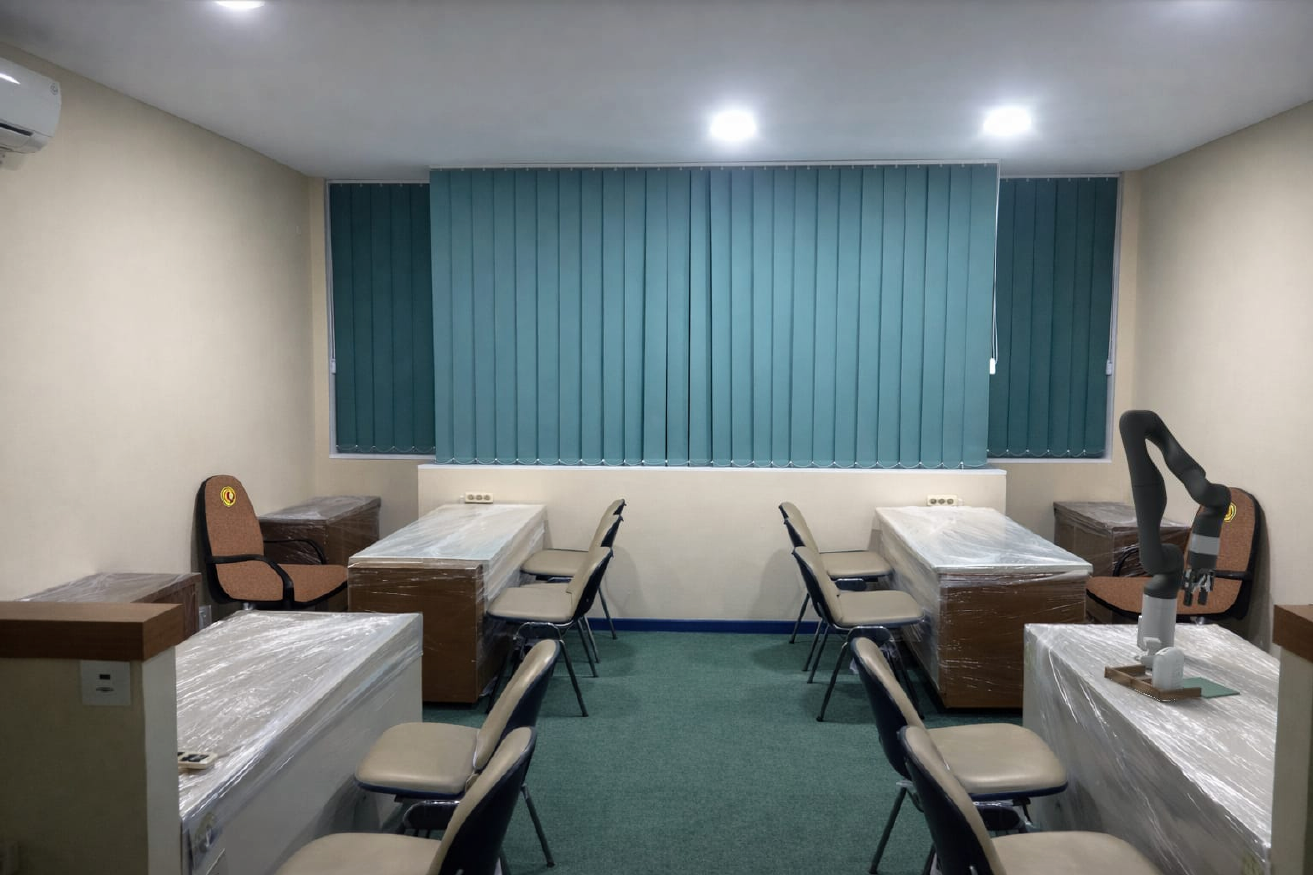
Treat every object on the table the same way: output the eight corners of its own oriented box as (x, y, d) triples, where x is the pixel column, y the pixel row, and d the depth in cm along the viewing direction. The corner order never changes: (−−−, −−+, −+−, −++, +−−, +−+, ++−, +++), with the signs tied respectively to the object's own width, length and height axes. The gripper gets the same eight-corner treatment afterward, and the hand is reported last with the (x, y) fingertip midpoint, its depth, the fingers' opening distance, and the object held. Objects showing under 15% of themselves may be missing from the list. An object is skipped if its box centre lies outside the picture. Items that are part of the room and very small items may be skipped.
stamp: (1134, 668, 258) (1136, 640, 258) (1131, 661, 265) (1133, 633, 264) (1170, 673, 255) (1172, 644, 255) (1165, 665, 262) (1167, 637, 261)
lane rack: (1104, 676, 251) (1105, 666, 251) (1142, 672, 255) (1143, 662, 255) (1160, 702, 233) (1161, 690, 233) (1201, 696, 237) (1201, 686, 237)
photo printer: (1167, 686, 245) (1171, 642, 244) (1184, 691, 241) (1187, 647, 240) (1148, 693, 239) (1151, 648, 238) (1164, 698, 236) (1167, 653, 234)
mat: (1167, 682, 248) (1167, 680, 248) (1200, 678, 252) (1200, 676, 252) (1205, 698, 237) (1205, 696, 237) (1239, 693, 240) (1239, 692, 240)
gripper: (1201, 548, 266) (1192, 601, 267) (1177, 547, 258) (1168, 602, 259) (1228, 553, 260) (1219, 608, 261) (1205, 553, 252) (1195, 609, 253)
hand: (1194, 605), depth 260 cm, fingers open, 8 cm apart
